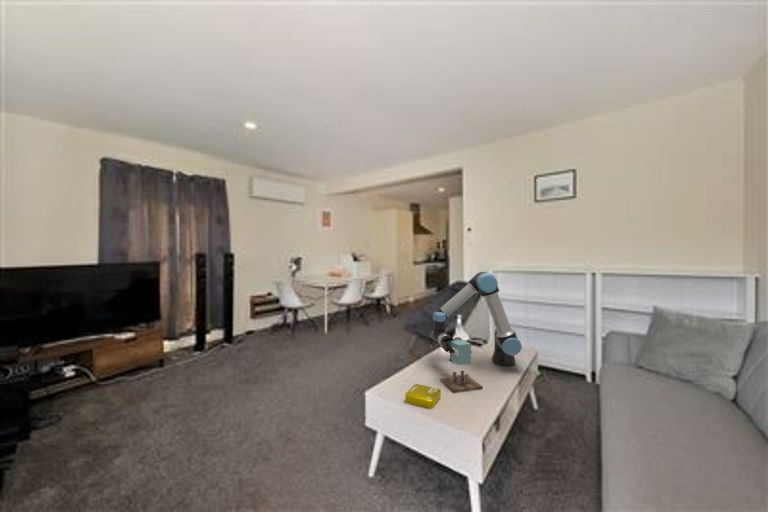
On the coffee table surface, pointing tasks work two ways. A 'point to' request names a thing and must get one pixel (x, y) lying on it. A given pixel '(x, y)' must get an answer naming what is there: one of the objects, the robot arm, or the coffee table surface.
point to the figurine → (455, 340)
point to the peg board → (462, 387)
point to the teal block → (461, 352)
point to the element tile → (423, 396)
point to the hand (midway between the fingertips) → (465, 352)
